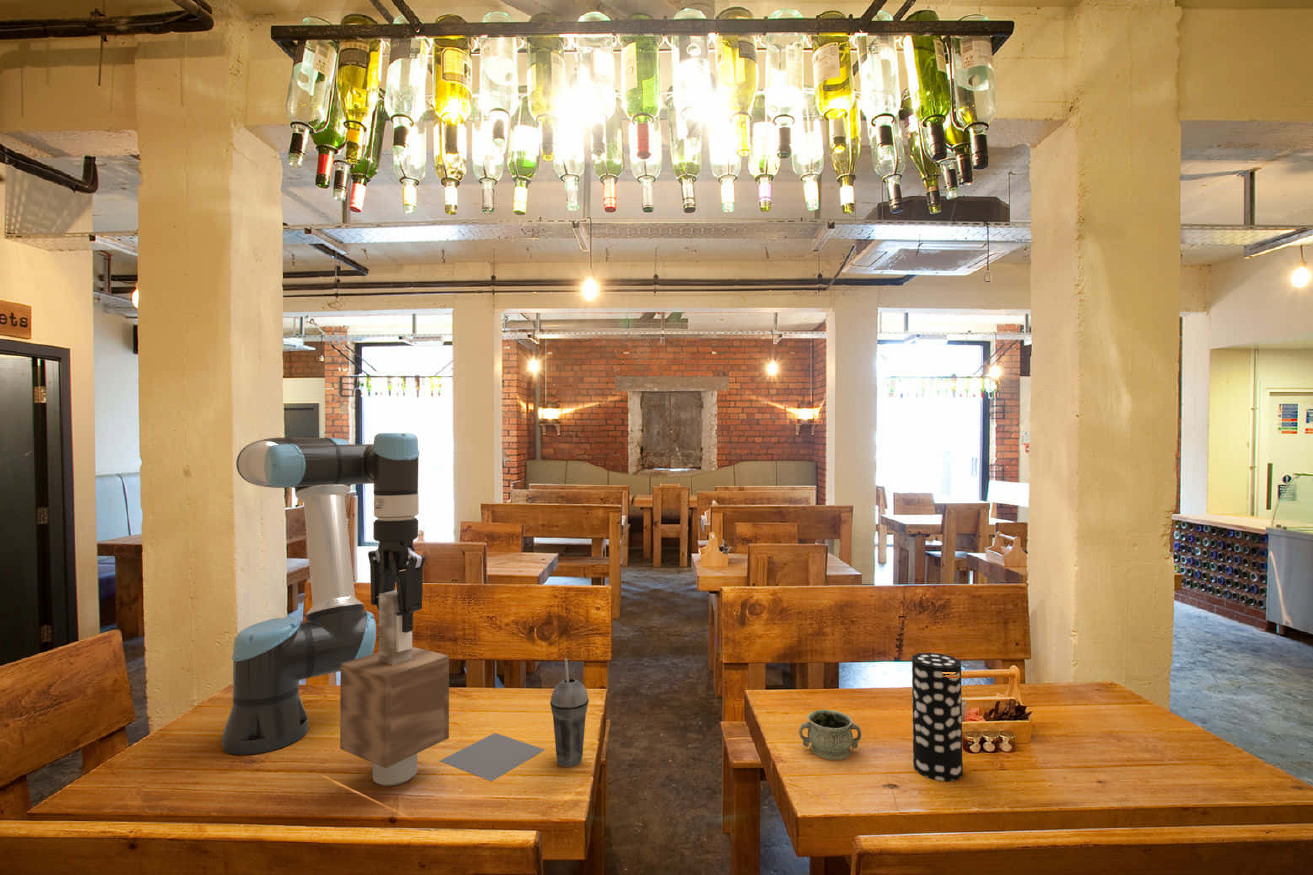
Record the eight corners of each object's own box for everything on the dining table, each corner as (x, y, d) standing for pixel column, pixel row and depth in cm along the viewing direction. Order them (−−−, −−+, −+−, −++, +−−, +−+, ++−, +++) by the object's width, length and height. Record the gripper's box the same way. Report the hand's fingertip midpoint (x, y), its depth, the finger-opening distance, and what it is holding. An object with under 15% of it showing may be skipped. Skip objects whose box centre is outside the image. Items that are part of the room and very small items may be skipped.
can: (424, 769, 118) (425, 703, 118) (404, 790, 111) (405, 720, 111) (386, 767, 119) (386, 702, 119) (363, 788, 112) (364, 719, 112)
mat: (439, 762, 121) (439, 760, 121) (494, 734, 132) (494, 732, 132) (491, 783, 113) (491, 780, 113) (545, 751, 125) (545, 749, 125)
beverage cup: (596, 758, 122) (595, 653, 122) (575, 776, 115) (575, 664, 116) (564, 750, 125) (563, 648, 125) (542, 767, 118) (542, 659, 119)
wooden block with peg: (340, 748, 113) (340, 595, 113) (404, 722, 124) (404, 582, 124) (385, 768, 106) (385, 604, 106) (448, 738, 117) (448, 590, 117)
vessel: (856, 741, 129) (855, 709, 129) (867, 762, 120) (866, 728, 120) (796, 739, 130) (795, 708, 130) (802, 760, 121) (802, 727, 121)
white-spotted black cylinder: (959, 762, 120) (958, 655, 120) (965, 784, 112) (963, 669, 112) (912, 755, 122) (910, 650, 123) (914, 776, 115) (913, 664, 115)
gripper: (349, 517, 117) (348, 645, 117) (408, 522, 108) (407, 661, 107) (385, 513, 123) (385, 635, 123) (444, 518, 114) (444, 649, 114)
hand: (395, 647), depth 115 cm, fingers closed on wooden block with peg, 4 cm apart
